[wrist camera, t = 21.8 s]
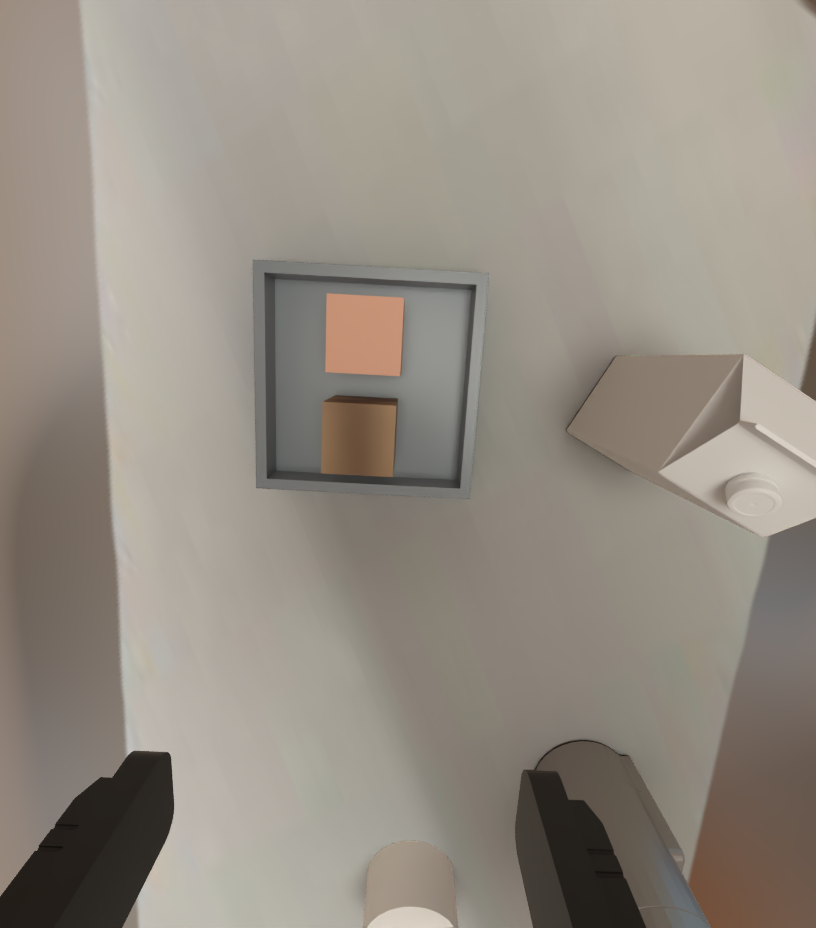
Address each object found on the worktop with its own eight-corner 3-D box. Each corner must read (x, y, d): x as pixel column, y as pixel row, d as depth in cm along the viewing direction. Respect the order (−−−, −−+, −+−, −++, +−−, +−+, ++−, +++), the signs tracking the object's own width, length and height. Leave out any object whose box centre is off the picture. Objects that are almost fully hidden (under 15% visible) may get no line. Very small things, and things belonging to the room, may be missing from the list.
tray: (481, 281, 37) (489, 273, 33) (464, 487, 40) (469, 499, 37) (267, 268, 37) (252, 259, 33) (269, 477, 40) (256, 488, 37)
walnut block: (398, 398, 38) (396, 405, 32) (395, 459, 39) (392, 477, 33) (335, 394, 38) (322, 401, 32) (334, 456, 39) (321, 473, 33)
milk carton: (615, 355, 38) (812, 351, 19) (685, 400, 39) (939, 438, 20) (564, 430, 39) (703, 494, 21) (633, 473, 40) (827, 571, 22)
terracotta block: (404, 307, 36) (404, 297, 31) (401, 373, 38) (400, 376, 32) (339, 303, 36) (326, 293, 31) (338, 370, 37) (325, 372, 32)
